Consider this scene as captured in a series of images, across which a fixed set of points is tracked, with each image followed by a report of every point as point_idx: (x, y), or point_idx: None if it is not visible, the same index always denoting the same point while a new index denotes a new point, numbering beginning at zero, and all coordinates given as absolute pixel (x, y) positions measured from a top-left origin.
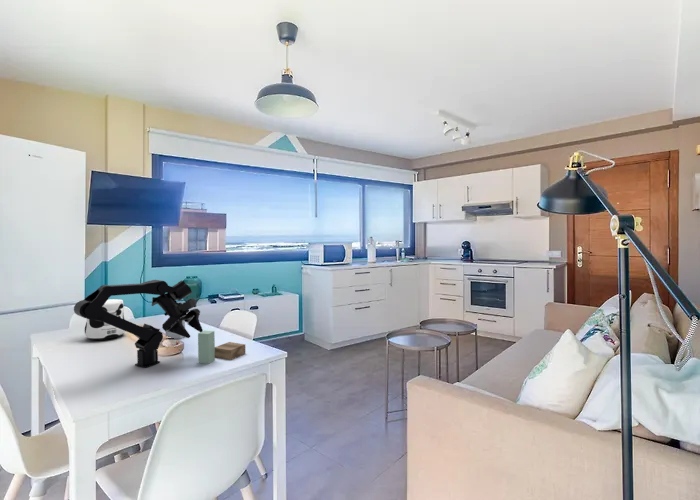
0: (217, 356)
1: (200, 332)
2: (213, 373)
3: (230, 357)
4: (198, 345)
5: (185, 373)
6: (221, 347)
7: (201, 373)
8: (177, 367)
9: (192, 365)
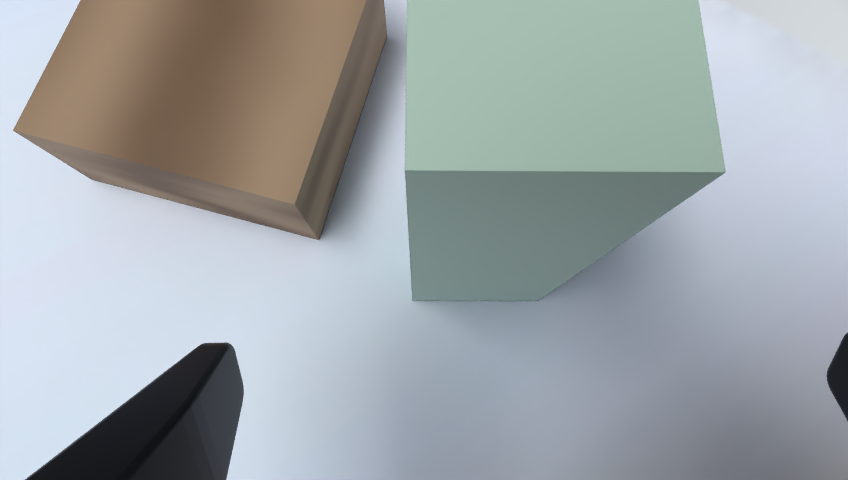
0: (332, 189)
1: (616, 162)
2: (741, 24)
3: (384, 22)
4: (605, 248)
5: (829, 262)
6: (282, 110)
7: (776, 119)
8: (715, 460)
9: (615, 326)
